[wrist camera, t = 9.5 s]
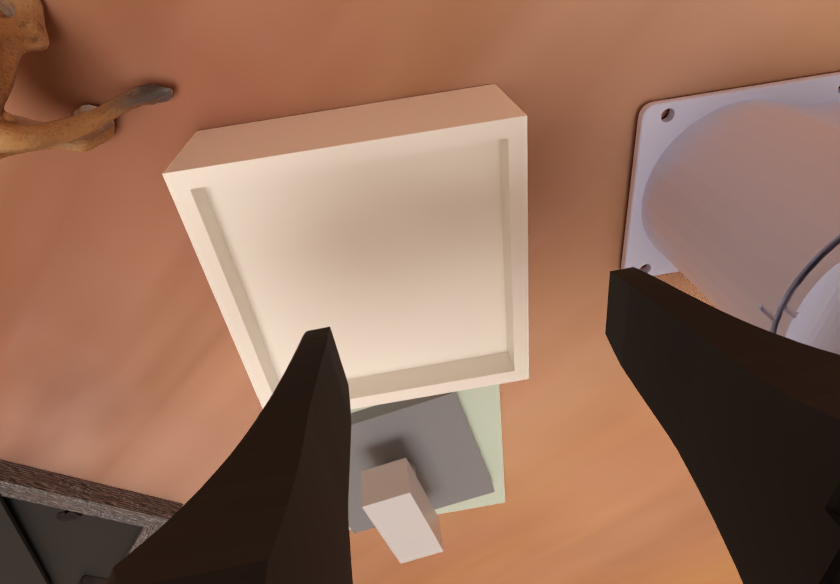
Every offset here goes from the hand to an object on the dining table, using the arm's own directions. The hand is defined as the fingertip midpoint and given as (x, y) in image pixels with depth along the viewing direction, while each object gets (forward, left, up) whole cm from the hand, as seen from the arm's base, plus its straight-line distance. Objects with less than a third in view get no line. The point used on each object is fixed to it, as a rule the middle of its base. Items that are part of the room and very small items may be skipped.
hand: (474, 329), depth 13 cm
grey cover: (+4, +16, -9) cm, 19 cm away
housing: (+3, +2, -9) cm, 10 cm away
